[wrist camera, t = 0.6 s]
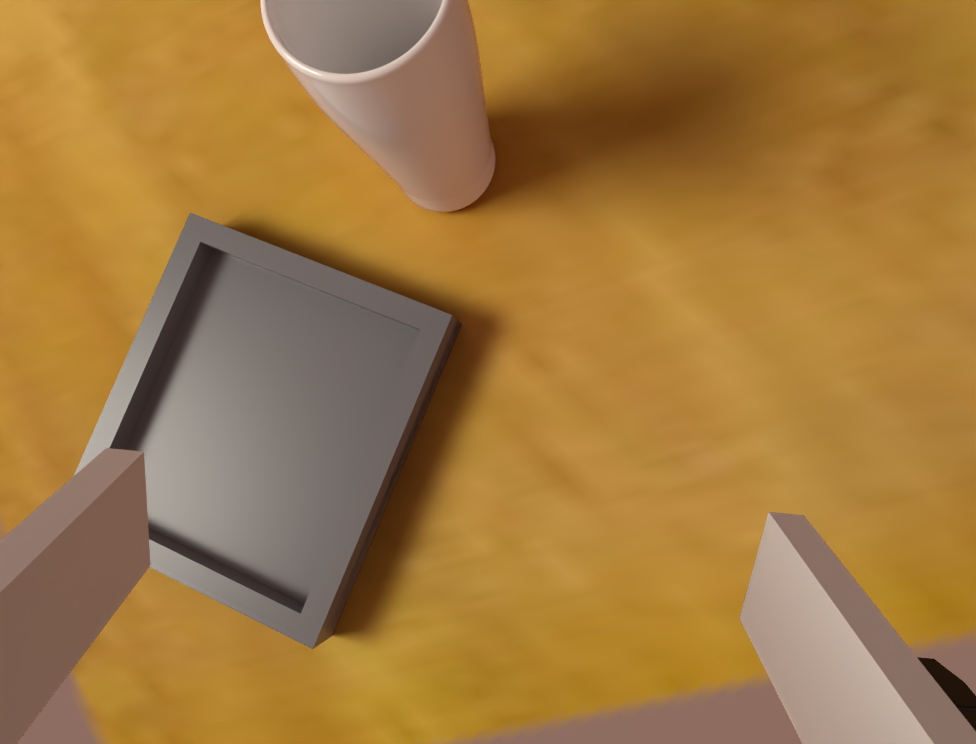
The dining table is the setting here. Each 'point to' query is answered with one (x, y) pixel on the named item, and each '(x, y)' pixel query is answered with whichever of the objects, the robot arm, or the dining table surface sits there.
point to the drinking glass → (396, 87)
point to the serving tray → (270, 422)
